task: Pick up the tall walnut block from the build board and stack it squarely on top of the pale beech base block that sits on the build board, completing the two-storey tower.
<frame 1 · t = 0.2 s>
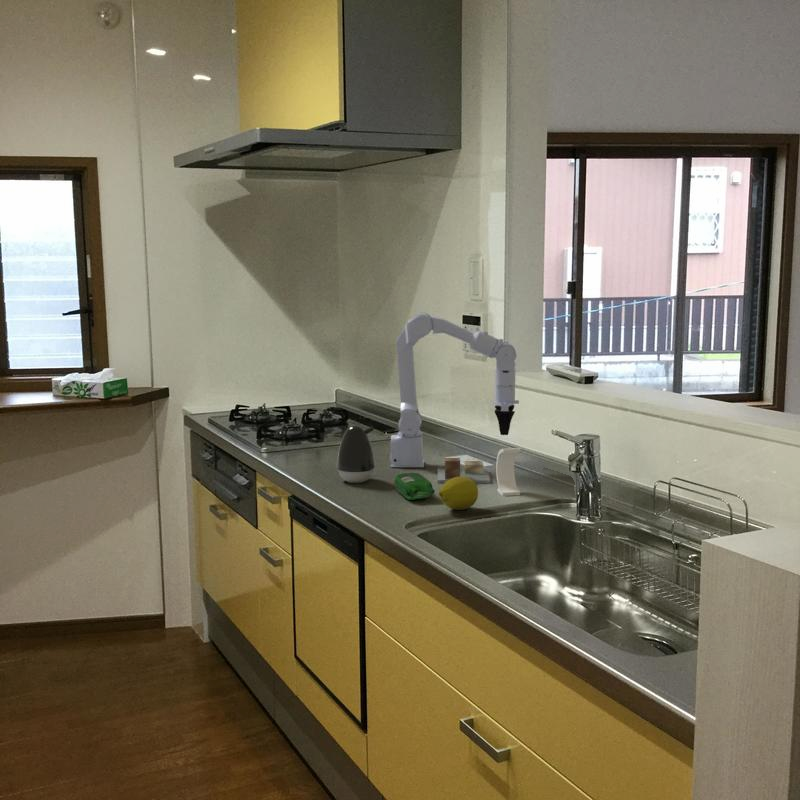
hand: (504, 432, 272), 10 cm above the counter, fingers open, 7 cm apart
egg-shaped speaker: (356, 481, 256), on the counter
snack package: (413, 497, 240), on the counter
headphone stand: (507, 493, 243), on the counter
walnut block: (452, 477, 256), point 1 cm above the counter, touching build board
build board: (463, 477, 260), on the counter
base block: (473, 471, 263), point 1 cm above the counter, touching build board
lemon: (458, 510, 227), on the counter
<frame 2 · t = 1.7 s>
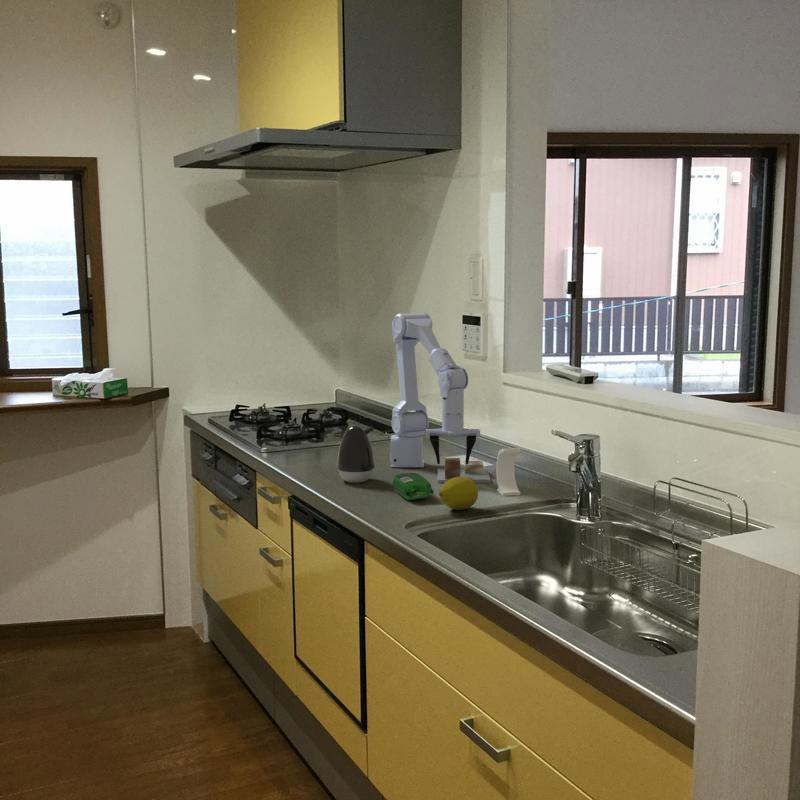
hand: (452, 463, 256), 5 cm above the counter, fingers open, 7 cm apart
nothing on the counter moved.
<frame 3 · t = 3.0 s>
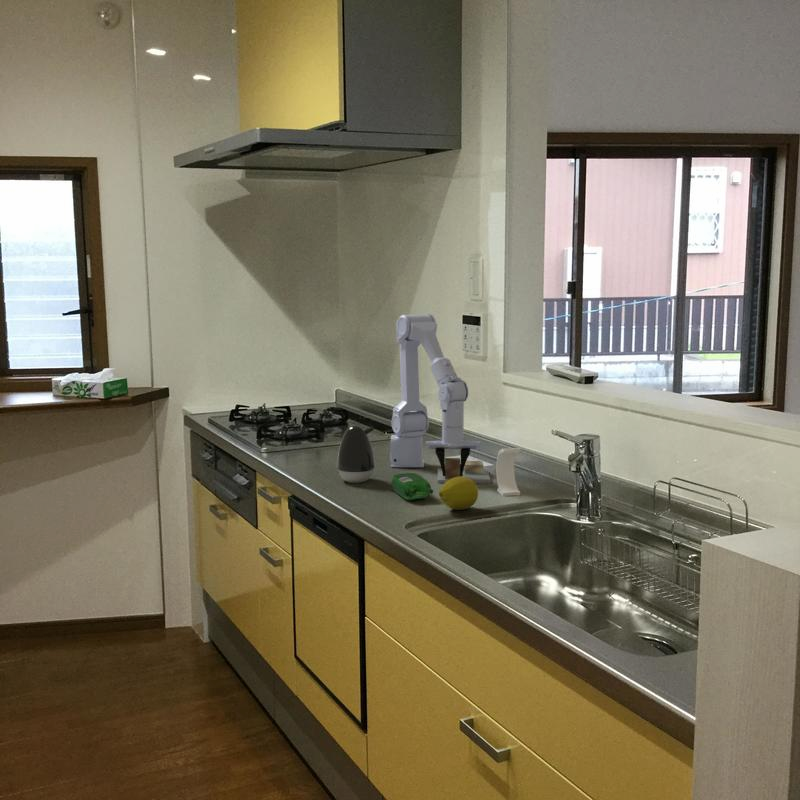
hand: (452, 475, 256), 1 cm above the counter, fingers closed on walnut block, 4 cm apart
walnut block: (452, 477, 256), point 1 cm above the counter, touching build board, gripper
everything else where it was.
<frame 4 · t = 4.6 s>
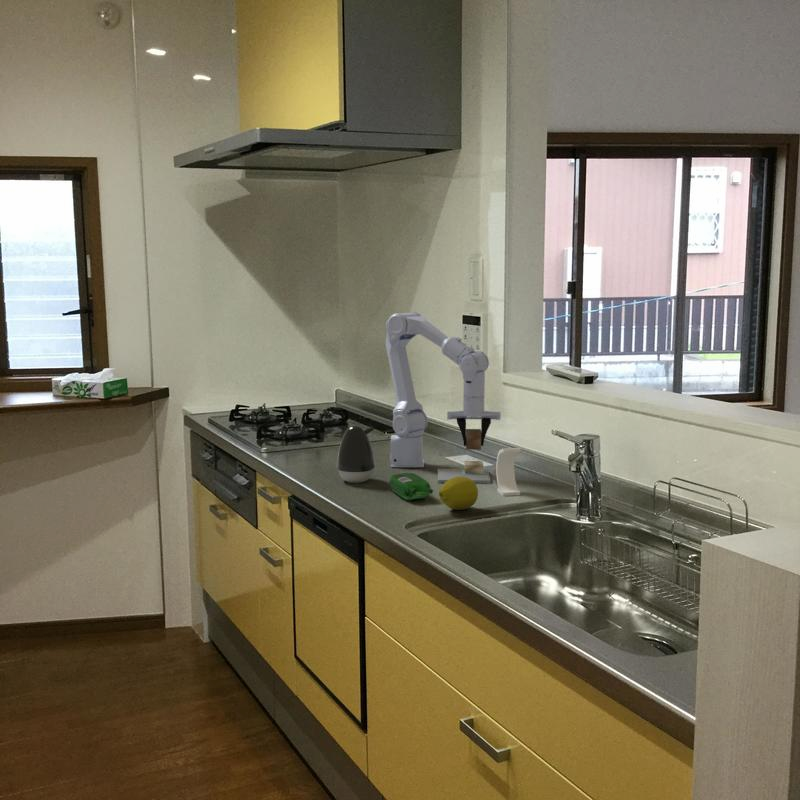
hand: (473, 445, 262), 8 cm above the counter, fingers closed on walnut block, 4 cm apart
walnut block: (473, 448, 261), point 8 cm above the counter, touching gripper
everything else where it was.
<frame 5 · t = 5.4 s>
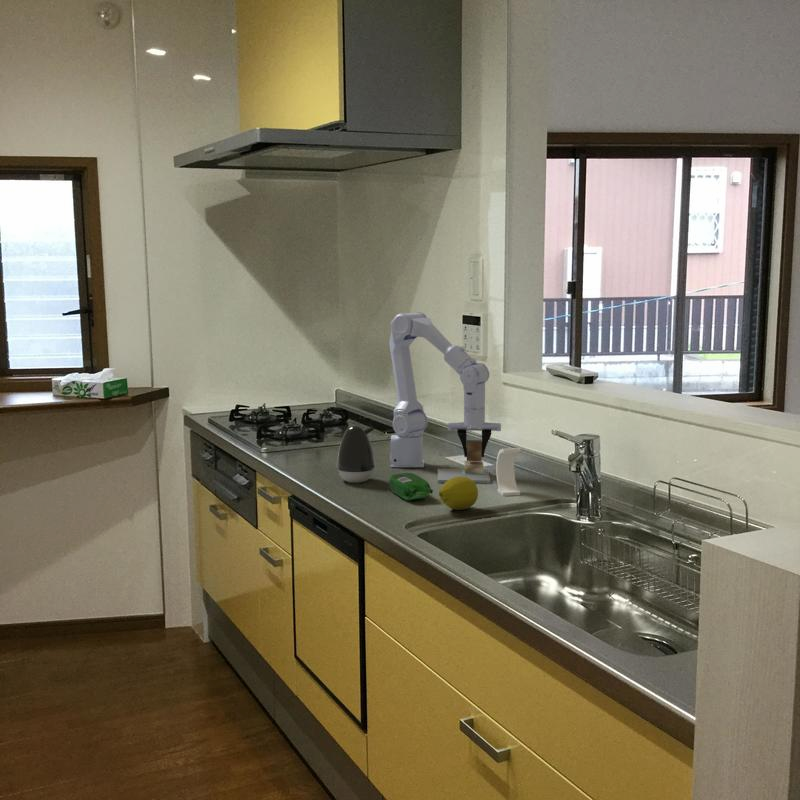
hand: (474, 456, 262), 5 cm above the counter, fingers closed on walnut block, 4 cm apart
walnut block: (474, 459, 262), point 4 cm above the counter, touching gripper
everything else where it was.
when the fingers open (5 cm above the counter, at t = 6.0 s): walnut block stays where it is, resting on base block.
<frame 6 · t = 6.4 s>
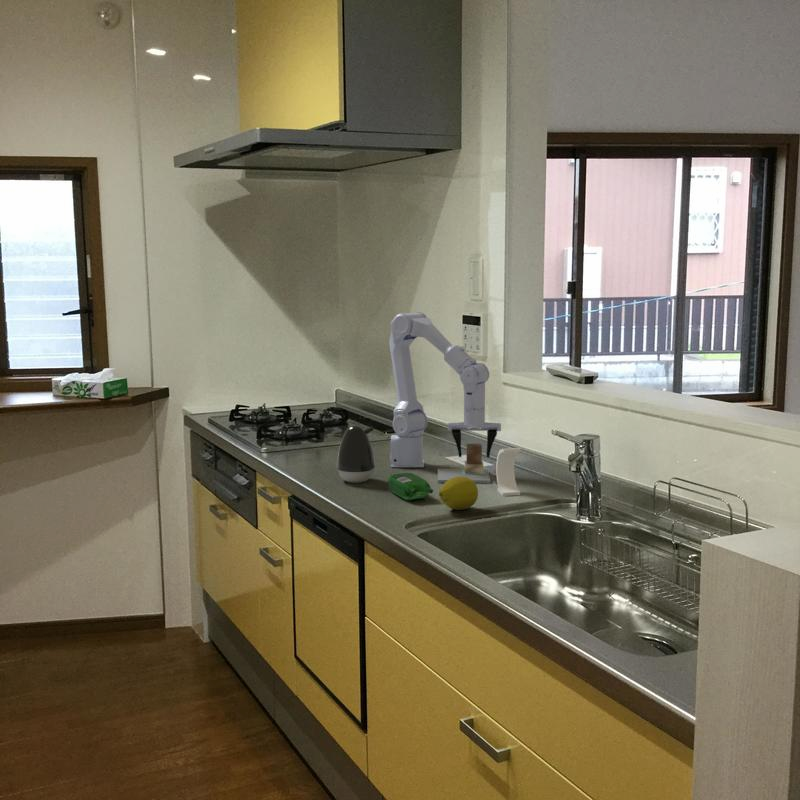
hand: (474, 456, 262), 5 cm above the counter, fingers open, 7 cm apart
walnut block: (474, 462, 262), point 3 cm above the counter, touching base block
base block: (473, 471, 263), point 1 cm above the counter, touching build board, walnut block
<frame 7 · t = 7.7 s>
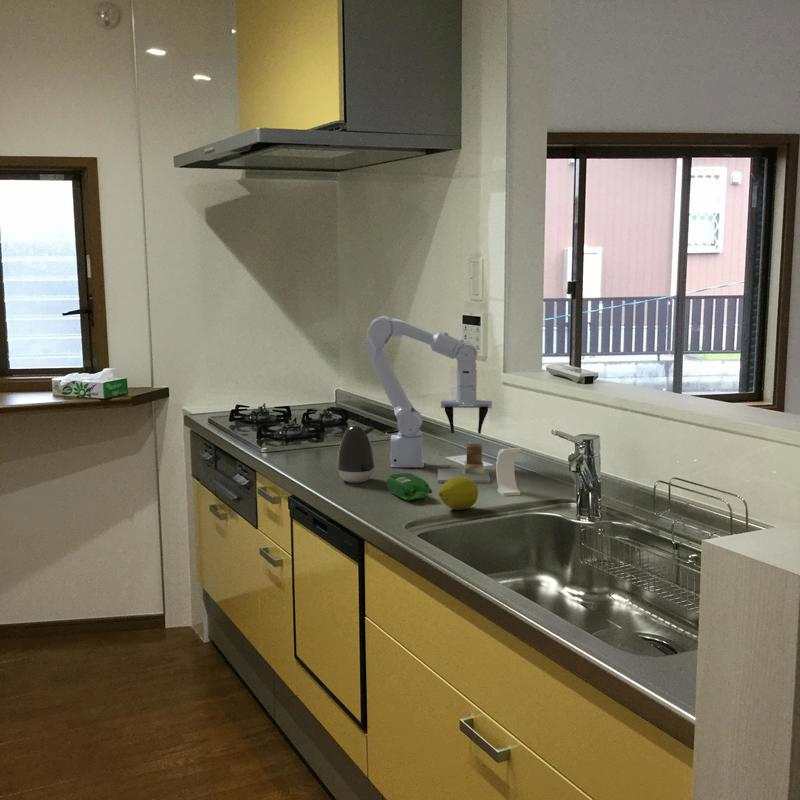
hand: (465, 432, 272), 10 cm above the counter, fingers open, 7 cm apart
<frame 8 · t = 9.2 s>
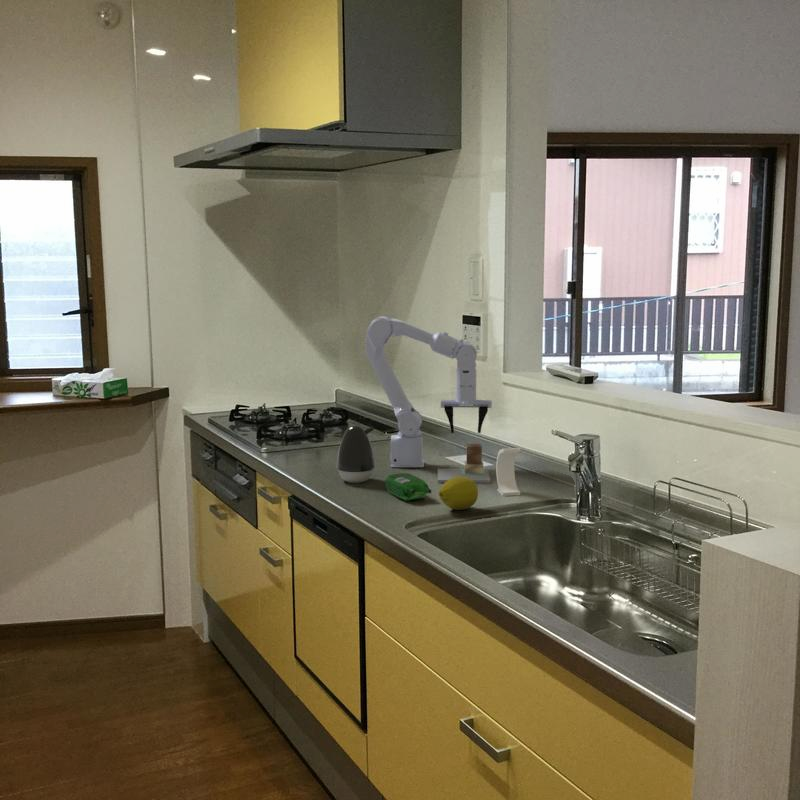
hand: (465, 432, 272), 10 cm above the counter, fingers open, 7 cm apart
at the end: walnut block 0.2 cm off-centre on the base block, point 2.5 cm above the base block's base; walnut block tilted 0°; base block moved 0.0 cm from its start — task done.
